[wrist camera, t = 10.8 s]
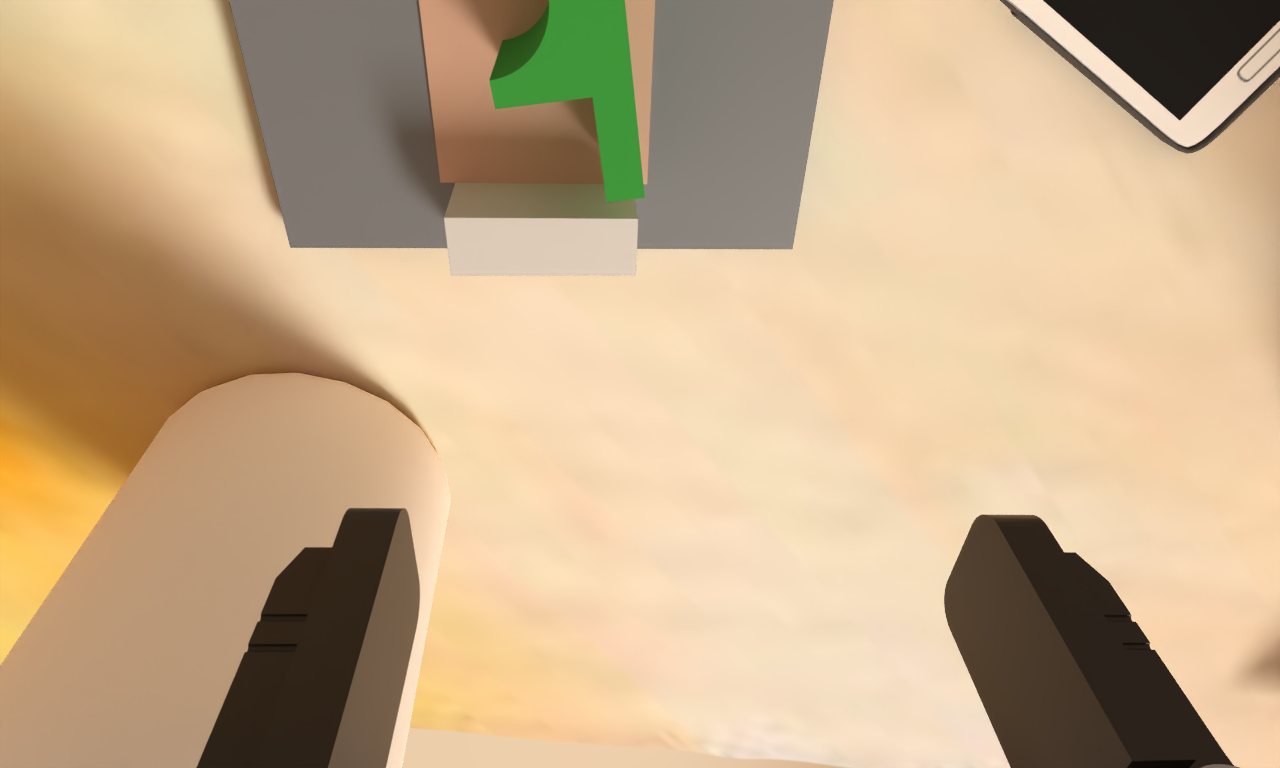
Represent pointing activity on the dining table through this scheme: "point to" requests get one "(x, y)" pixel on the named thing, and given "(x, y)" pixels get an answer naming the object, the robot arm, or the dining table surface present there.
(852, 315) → the dining table surface
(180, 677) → the can
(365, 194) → the end holder
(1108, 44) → the cell phone
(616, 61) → the pipe clamp
